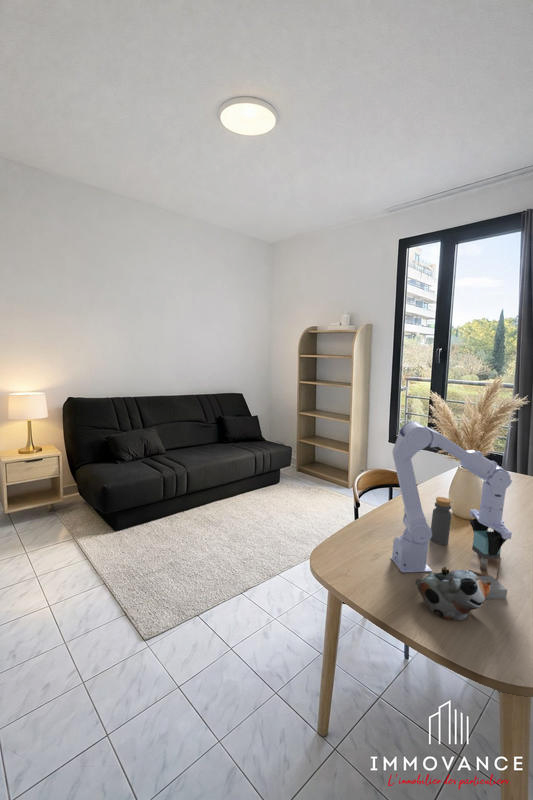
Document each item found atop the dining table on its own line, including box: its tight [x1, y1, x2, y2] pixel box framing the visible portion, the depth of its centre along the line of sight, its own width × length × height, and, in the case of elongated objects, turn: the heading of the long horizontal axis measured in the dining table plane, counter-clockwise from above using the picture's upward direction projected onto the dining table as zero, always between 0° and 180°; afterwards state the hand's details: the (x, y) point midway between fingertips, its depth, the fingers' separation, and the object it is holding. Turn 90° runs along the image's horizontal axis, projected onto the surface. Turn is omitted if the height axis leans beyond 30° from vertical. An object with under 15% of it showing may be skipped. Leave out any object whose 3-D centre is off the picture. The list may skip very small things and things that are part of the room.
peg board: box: [467, 551, 500, 580], centre depth 113 cm, size 18×7×8 cm, turn 144°
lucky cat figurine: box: [415, 566, 491, 621], centre depth 92 cm, size 15×12×14 cm
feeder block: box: [478, 576, 508, 600], centre depth 101 cm, size 6×6×2 cm
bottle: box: [430, 496, 452, 545], centre depth 127 cm, size 6×6×15 cm
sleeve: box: [471, 530, 502, 560], centre depth 108 cm, size 5×5×6 cm
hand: (485, 549), depth 108 cm, fingers closed on sleeve, 5 cm apart
